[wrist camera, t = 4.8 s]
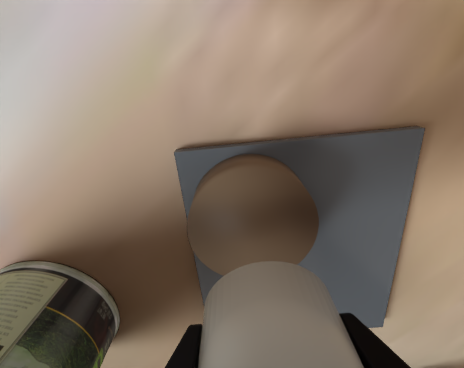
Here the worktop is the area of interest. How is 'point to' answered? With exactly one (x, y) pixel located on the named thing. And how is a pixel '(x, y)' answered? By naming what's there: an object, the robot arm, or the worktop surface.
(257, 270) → the cap
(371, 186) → the board
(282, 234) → the base
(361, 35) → the worktop surface
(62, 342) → the coffee can
